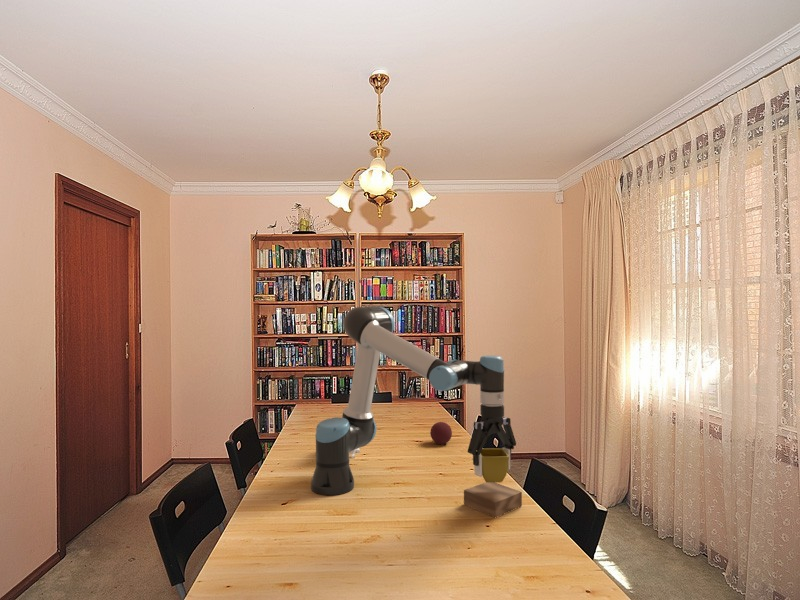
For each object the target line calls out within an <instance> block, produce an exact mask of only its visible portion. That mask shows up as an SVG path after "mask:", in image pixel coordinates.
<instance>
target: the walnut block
mask: <svg viewBox="0 0 800 600" xmlns="http://www.w3.org/2000/svg"><path fill="white" fill-rule="evenodd" d="M522 493H523V492H522V491H519V490H516V489H515V488H511V487H508V486H505V485H502V484H500V483H499V482H489V483H488V482H486V481H485V482H483V483H480V484H477V485H475V486H471V487H469V488H466V489H463V505H465V506H467V507H469V508H472V509H473V510H475V511H478V512H480V511H481V513H483V514H485V513H486V515H487V516H490V515H491V516H490V517H492V516H494V517H493V518H495V517H496V518H498V517H497V516H499V517H500V515H501V516H503V515H505V514H504V513H506V512H508V511H510V512H512V511H511V510H513V509H515V508H517V509H519V508H521V506H523V500H522V499H523V498H522V497H523V495H522ZM518 507H519V508H518ZM515 510H516V509H515ZM513 511H514V510H513ZM508 513H509V512H508ZM502 514H503V515H502ZM506 514H507V513H506Z"/></svg>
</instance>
